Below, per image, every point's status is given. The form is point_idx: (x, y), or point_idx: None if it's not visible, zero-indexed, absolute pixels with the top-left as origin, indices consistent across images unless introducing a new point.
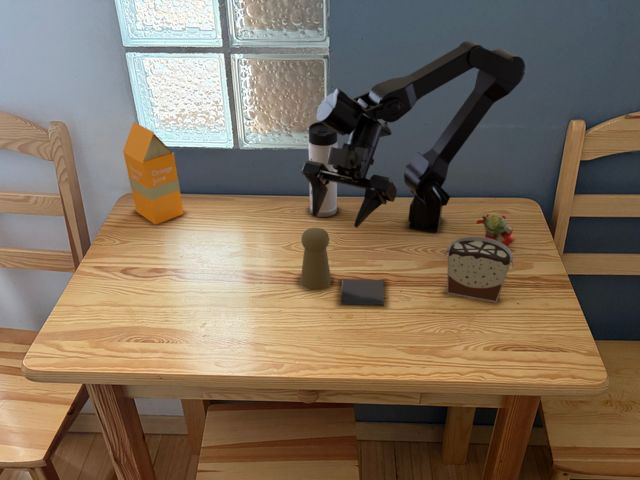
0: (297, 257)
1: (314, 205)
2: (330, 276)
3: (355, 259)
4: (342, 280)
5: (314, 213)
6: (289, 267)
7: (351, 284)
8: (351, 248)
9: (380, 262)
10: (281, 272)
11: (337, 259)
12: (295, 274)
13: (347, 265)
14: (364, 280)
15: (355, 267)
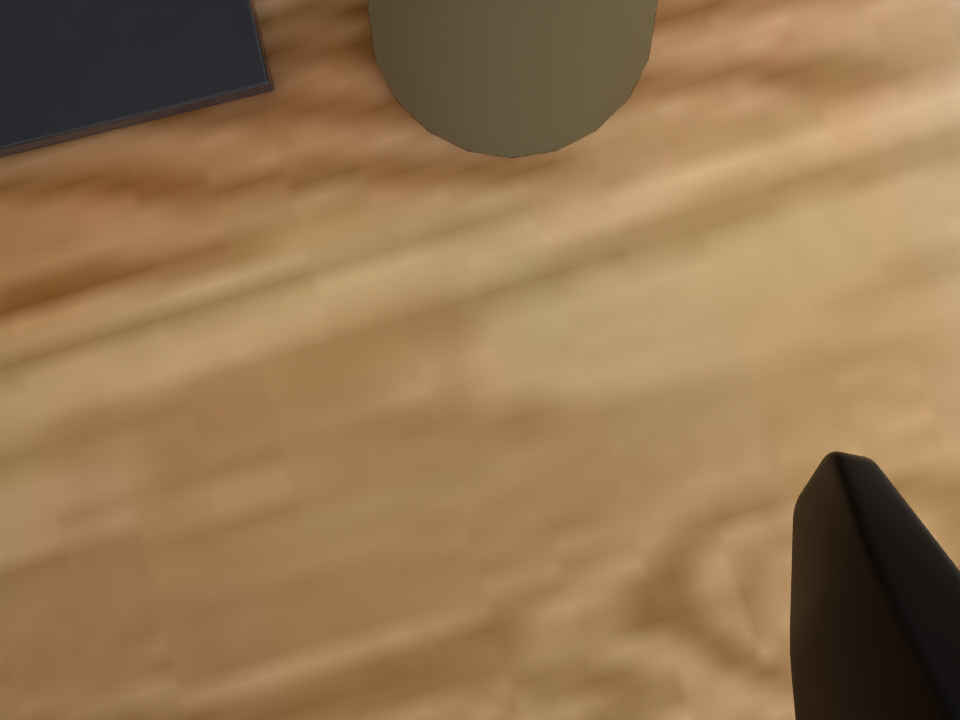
0: (817, 370)
1: (937, 600)
2: (374, 35)
3: (258, 501)
4: (262, 58)
5: (841, 473)
6: (830, 172)
7: (163, 17)
8: (350, 695)
9: (11, 517)
10: (872, 66)
11: (427, 449)
12: (732, 72)
13: (304, 371)
14: (64, 120)
15: (221, 358)
